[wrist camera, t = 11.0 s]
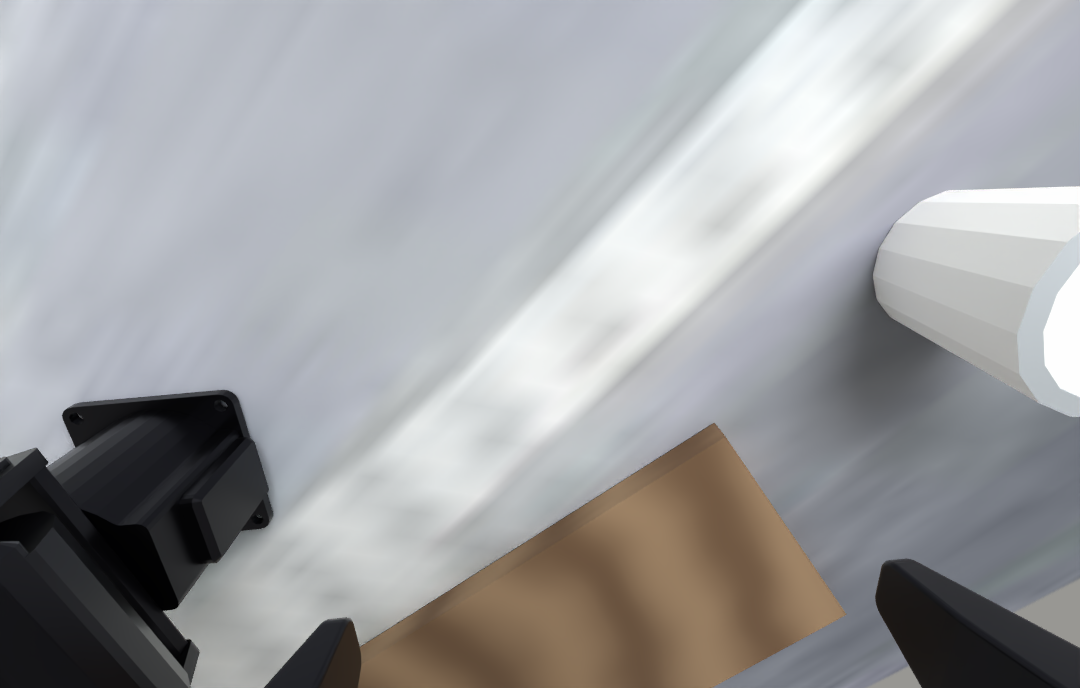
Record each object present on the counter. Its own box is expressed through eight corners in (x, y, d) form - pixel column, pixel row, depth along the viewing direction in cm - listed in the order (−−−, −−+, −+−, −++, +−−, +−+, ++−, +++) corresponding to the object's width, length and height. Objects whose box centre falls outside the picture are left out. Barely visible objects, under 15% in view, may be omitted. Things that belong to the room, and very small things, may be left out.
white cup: (890, 369, 22) (1051, 459, 16) (832, 238, 20) (992, 279, 14) (1042, 282, 21) (1280, 339, 15) (999, 134, 19) (1259, 124, 13)
